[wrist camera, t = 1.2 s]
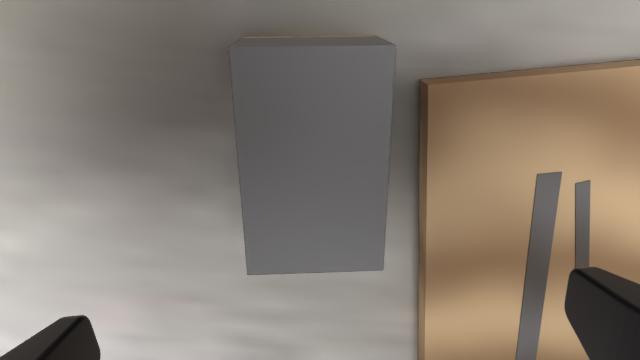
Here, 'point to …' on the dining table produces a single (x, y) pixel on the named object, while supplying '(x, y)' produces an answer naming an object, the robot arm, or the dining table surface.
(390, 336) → the dining table surface
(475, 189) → the oak board
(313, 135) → the block
